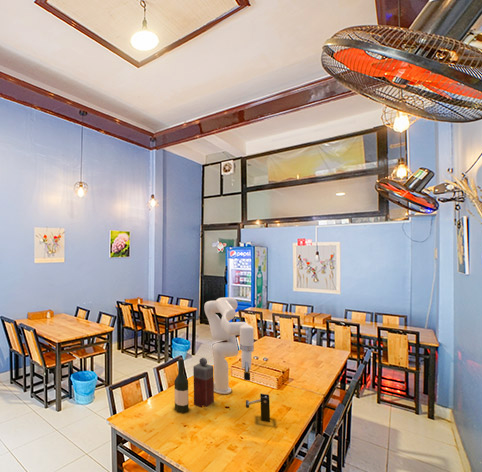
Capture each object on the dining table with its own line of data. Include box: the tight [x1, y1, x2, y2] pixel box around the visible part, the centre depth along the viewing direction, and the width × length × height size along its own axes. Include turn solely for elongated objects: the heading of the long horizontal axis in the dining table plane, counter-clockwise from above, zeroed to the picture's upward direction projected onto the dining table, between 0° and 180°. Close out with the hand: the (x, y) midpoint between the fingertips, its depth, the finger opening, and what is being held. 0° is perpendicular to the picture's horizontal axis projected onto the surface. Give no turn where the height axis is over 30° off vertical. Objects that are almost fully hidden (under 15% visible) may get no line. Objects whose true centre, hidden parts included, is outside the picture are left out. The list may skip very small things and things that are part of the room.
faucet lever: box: [245, 396, 267, 409], centre depth 174 cm, size 12×6×2 cm, turn 69°
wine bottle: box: [174, 357, 190, 414], centre depth 186 cm, size 8×8×30 cm
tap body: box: [259, 393, 271, 423], centre depth 172 cm, size 9×8×14 cm
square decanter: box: [192, 357, 215, 408], centre depth 193 cm, size 9×11×28 cm
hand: (247, 379), depth 178 cm, fingers closed
